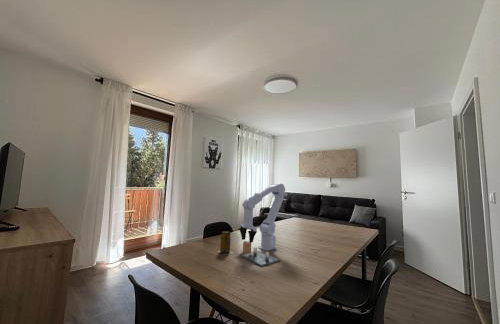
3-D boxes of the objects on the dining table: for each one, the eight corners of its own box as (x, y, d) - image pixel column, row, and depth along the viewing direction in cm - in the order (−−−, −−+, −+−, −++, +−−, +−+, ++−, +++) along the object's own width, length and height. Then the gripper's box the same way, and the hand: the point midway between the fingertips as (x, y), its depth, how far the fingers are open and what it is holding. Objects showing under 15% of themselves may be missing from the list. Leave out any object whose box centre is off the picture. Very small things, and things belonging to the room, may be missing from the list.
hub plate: (258, 252, 132) (258, 244, 132) (279, 261, 118) (280, 252, 118) (240, 256, 123) (240, 247, 123) (261, 266, 109) (261, 256, 110)
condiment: (226, 249, 135) (227, 230, 136) (234, 253, 129) (235, 233, 130) (216, 251, 131) (217, 231, 132) (224, 255, 124) (225, 234, 125)
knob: (247, 249, 136) (247, 239, 137) (252, 252, 132) (253, 241, 133) (241, 251, 133) (241, 240, 134) (246, 253, 129) (246, 242, 130)
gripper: (236, 217, 138) (235, 239, 136) (250, 221, 126) (249, 244, 125) (244, 216, 142) (244, 237, 141) (259, 220, 131) (258, 243, 129)
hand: (247, 240), depth 133 cm, fingers open, 7 cm apart
